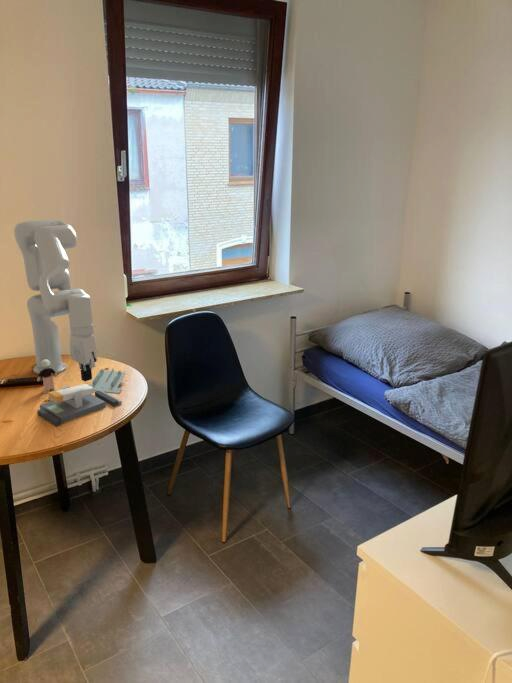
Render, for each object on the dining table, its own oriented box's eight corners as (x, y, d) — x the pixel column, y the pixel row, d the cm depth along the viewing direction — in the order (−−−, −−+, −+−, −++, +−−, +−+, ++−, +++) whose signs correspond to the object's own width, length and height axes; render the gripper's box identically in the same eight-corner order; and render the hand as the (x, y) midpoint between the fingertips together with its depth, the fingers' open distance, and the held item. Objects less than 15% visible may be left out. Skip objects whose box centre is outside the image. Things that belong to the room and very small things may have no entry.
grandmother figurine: (53, 386, 205) (50, 355, 201) (60, 389, 203) (57, 357, 199) (36, 393, 199) (32, 361, 195) (43, 396, 197) (39, 364, 193)
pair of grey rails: (38, 415, 183) (37, 410, 183) (101, 393, 201) (100, 388, 200) (57, 428, 175) (57, 423, 175) (121, 403, 193) (121, 399, 192)
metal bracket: (94, 364, 213) (130, 367, 210) (97, 376, 216) (133, 379, 214) (79, 388, 201) (117, 391, 199) (82, 399, 205) (119, 403, 202)
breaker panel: (40, 410, 187) (38, 391, 185) (84, 394, 199) (82, 377, 197) (61, 423, 178) (59, 404, 176) (105, 406, 190) (104, 388, 188)
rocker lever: (47, 397, 184) (47, 391, 183) (84, 388, 194) (84, 382, 194) (57, 403, 180) (57, 397, 179) (94, 394, 190) (94, 388, 190)
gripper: (60, 327, 186) (66, 377, 192) (84, 337, 176) (89, 388, 182) (80, 323, 191) (84, 371, 197) (104, 332, 182) (108, 382, 188)
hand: (86, 379), depth 190 cm, fingers closed
